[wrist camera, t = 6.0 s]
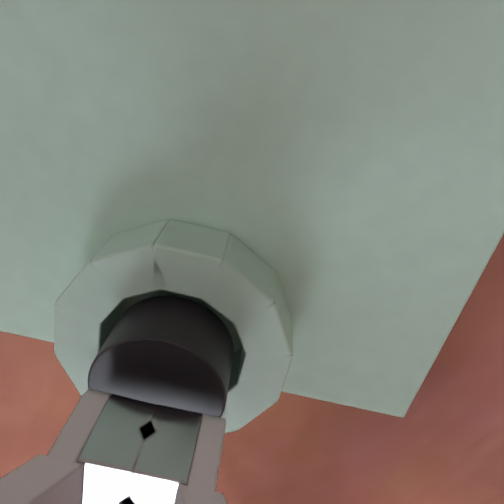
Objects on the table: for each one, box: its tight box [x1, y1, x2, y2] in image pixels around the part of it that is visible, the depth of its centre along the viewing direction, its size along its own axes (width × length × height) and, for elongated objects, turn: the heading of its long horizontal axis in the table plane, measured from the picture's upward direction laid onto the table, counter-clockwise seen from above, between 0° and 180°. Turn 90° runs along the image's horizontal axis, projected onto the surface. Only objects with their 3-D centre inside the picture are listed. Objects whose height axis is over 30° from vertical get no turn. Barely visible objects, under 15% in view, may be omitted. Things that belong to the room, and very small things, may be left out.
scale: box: [0, 0, 504, 433], centre depth 10 cm, size 15×16×3 cm
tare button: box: [88, 296, 234, 418], centre depth 10 cm, size 3×3×2 cm
